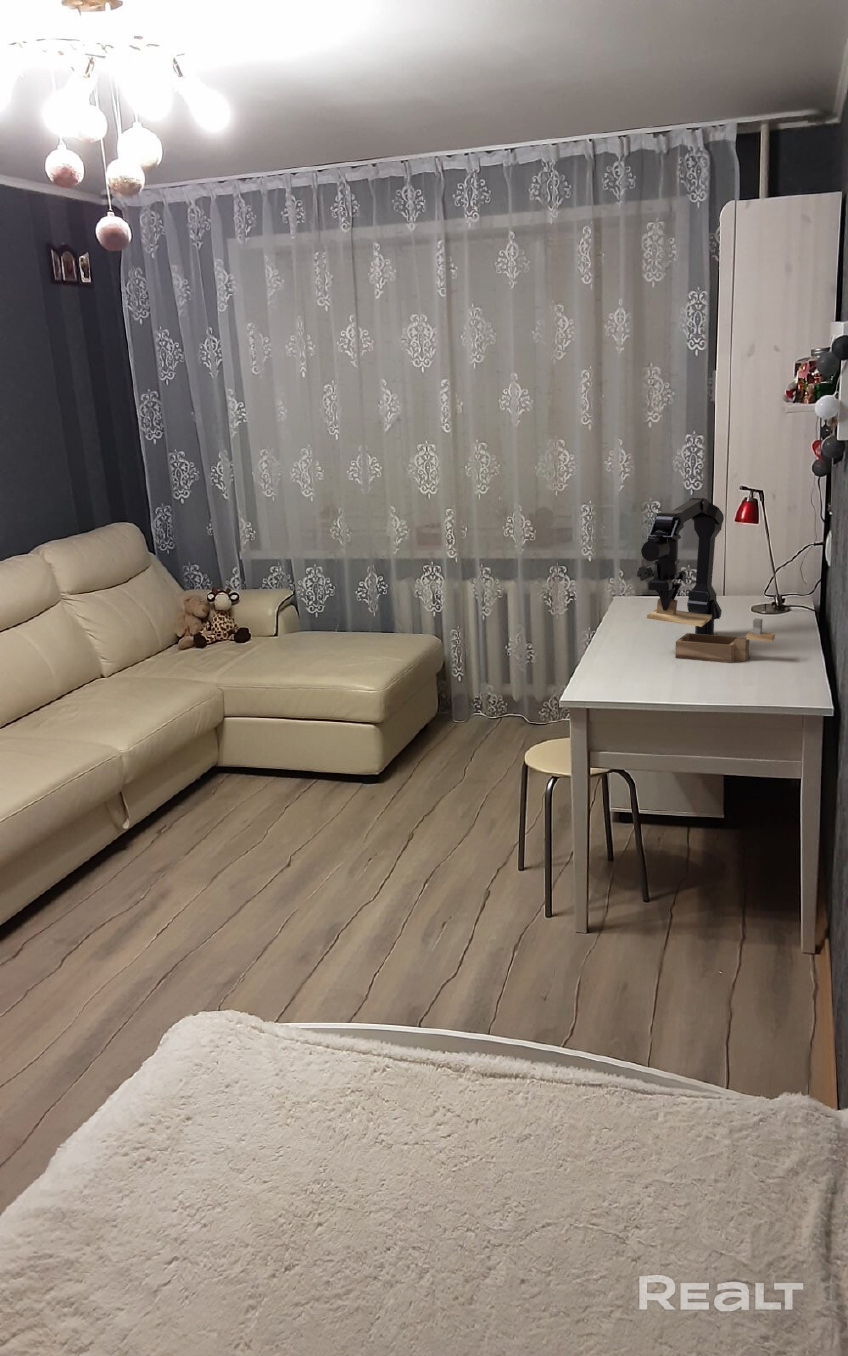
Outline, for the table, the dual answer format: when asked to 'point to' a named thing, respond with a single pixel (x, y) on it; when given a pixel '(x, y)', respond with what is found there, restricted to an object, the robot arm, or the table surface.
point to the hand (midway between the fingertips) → (666, 609)
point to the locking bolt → (759, 632)
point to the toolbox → (712, 648)
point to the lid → (678, 615)
